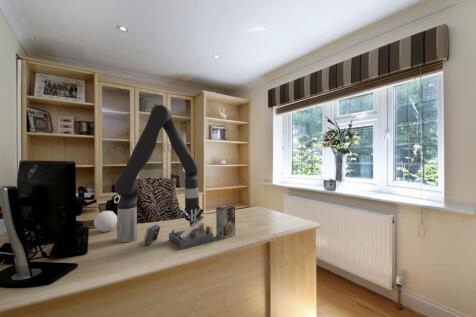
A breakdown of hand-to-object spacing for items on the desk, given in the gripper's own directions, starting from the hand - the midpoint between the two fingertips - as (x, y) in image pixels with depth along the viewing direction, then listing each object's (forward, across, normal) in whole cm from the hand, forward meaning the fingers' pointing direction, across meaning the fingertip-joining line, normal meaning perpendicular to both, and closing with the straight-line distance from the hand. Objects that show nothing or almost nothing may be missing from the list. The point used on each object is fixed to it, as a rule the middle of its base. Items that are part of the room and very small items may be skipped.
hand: (192, 227), depth 125 cm
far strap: (+1, -3, 0) cm, 4 cm away
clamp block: (+5, -3, -4) cm, 7 cm away
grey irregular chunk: (+5, -20, +6) cm, 22 cm away
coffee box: (+6, +16, -9) cm, 19 cm away
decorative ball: (+4, -36, +41) cm, 55 cm away
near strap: (-3, -4, -9) cm, 10 cm away
